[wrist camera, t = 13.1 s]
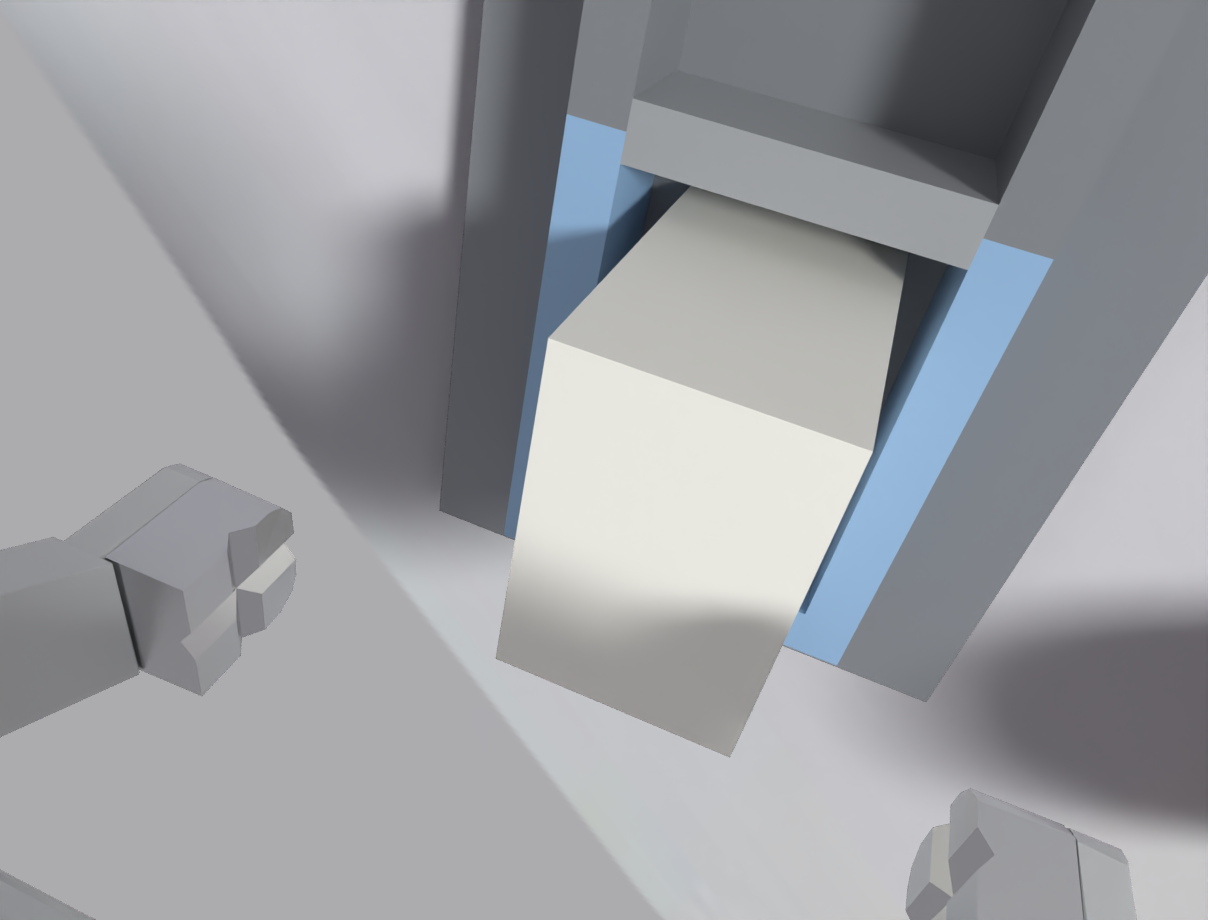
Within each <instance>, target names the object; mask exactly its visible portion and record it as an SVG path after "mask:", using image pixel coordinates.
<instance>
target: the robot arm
mask: <svg viewBox="0 0 1208 920" xmlns="http://www.w3.org/2000/svg"><path fill="white" fill-rule="evenodd" d="M293 533H294V530H293V521H292V513H291V512H289V511H287V510H285V509H283V508H281V507H279V506H277V505H274V504H272V503H270V502H267V501H265V500H263V499H261V498H258V497H256V496H254V495H252V494H249V493H247V492H245V491H242V490H240V489H238V488H236V487H234V486H231V485H229V484H227V483H225V482H222V481H220V480H218V479H216V478H213V477H210V476H208V475H206V474H203V473H201V472H198V471H196V470H194V469H192V468H189V467H187V466H184V465H182V464H176V465H172V466H168V467H165V468H163V469H161V470H160V471H159V472H157V473H156V474H155V475H153V476H152V477H151V478H149V479H148V480H146V481H145V482H144V483H142V484H141V485H140V486H138V487H137V488H135V489H134V490H133V491H131V492H130V493H129V494H127V495H126V496H125V497H123V498H122V499H121V500H119V501H118V502H116V503H115V504H114V505H112V506H111V507H110V508H108V509H107V510H106V511H104V512H103V513H101V514H100V515H99V516H97V517H96V518H95V519H93V520H92V521H91V522H89V523H88V524H86V525H85V526H84V527H82V528H81V529H80V530H78V531H77V532H75V533H74V534H73V535H71V536H70V537H69V538H67V539H66V540H64V541H62V540H59V539H57V538H54V537H51V538H47V539H43V540H39V541H35V542H31V543H27V544H23V545H19V546H15V547H11V548H7V549H3V550H0V737H2V736H4V735H6V734H8V733H11V732H12V731H15V730H17V729H19V728H22V727H24V726H26V725H28V724H30V723H32V722H35V721H37V720H39V719H41V718H44V717H46V716H48V715H50V714H52V713H55V712H57V711H59V710H61V709H64V708H66V707H68V706H70V705H72V704H75V703H77V702H79V701H81V700H83V699H86V698H88V697H90V696H92V695H95V694H97V693H99V692H101V691H103V690H105V689H108V688H110V687H112V686H114V685H117V684H119V683H121V682H123V681H125V680H127V679H130V678H132V677H134V676H136V675H138V674H139V673H140V672H139V670H142V671H144V672H146V673H149V674H151V675H153V676H156V677H158V678H160V679H163V680H165V681H167V682H170V683H172V684H174V685H177V686H179V687H182V688H184V689H186V690H189V691H191V692H194V693H196V694H198V695H201V696H203V695H204V694H205V693H206V691H208V690H209V689H210V687H211V686H212V685H213V684H214V683H215V682H216V681H217V680H218V679H219V678H220V677H221V676H222V675H223V674H224V673H225V672H226V670H228V668H229V667H230V666H231V665H232V664H233V663H234V662H235V661H236V660H237V659H238V658H239V657H240V656H241V643H242V637H245V636H247V635H251V634H253V633H256V632H259V631H262V630H265V629H266V628H267V627H268V626H269V625H270V623H271V622H272V621H273V620H274V619H275V618H276V617H277V616H278V614H279V613H280V612H281V611H282V608H283V607H284V605H285V603H286V601H287V600H288V598H289V596H290V594H291V592H292V590H293V585H294V580H295V576H296V560H295V558H294V556H293V555H292V553H291V552H290V550H289V549H288V547H287V546H286V544H285V543H284V542H285V541H286V540H287V539H288V538H289V537H290V536H291V535H292V534H293ZM906 912H907V914H908V916H909V919H910V920H1137V915H1136V909H1135V902H1134V896H1133V889H1132V883H1131V876H1130V870H1129V863H1128V860H1127V858H1126V857H1125V855H1124V853H1123V852H1122V850H1121V849H1119V848H1116V847H1114V846H1111V845H1109V844H1107V843H1104V842H1102V841H1099V840H1097V839H1094V838H1092V837H1089V836H1087V835H1085V834H1082V833H1080V832H1077V831H1075V830H1072V829H1069V828H1066V827H1065V826H1064V825H1062V824H1060V823H1057V822H1055V821H1052V820H1050V819H1047V818H1045V817H1042V816H1040V815H1037V814H1034V813H1032V812H1029V811H1027V810H1024V809H1022V808H1019V807H1017V806H1014V805H1012V804H1009V803H1007V802H1004V801H1002V800H999V799H997V798H994V797H991V796H989V795H986V794H984V793H981V792H979V791H976V790H974V789H971V788H970V789H968V790H965V791H963V792H961V793H960V794H959V796H958V797H957V798H956V799H955V800H954V802H953V803H952V804H951V807H950V824H945V825H940V826H936V827H933V828H932V829H931V831H930V832H929V833H928V835H927V836H926V837H925V839H924V840H923V842H922V843H921V845H920V847H919V850H918V852H917V855H916V857H915V860H914V862H913V865H912V868H911V873H910V878H909V883H908V888H907V899H906ZM0 920H95V919H93V918H92V917H89V916H88V915H86V914H84V913H82V912H80V911H78V910H76V909H74V908H73V907H71V906H69V905H67V904H65V903H63V902H61V901H59V900H57V899H55V898H54V897H52V896H50V895H48V894H46V893H44V892H42V891H40V890H38V889H36V888H34V887H33V886H31V885H29V884H27V883H25V882H23V881H21V880H19V879H17V878H15V877H14V876H12V875H10V874H8V873H6V872H4V871H2V870H0Z"/></svg>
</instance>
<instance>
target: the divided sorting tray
mask: <svg viewBox="0 0 1208 920" xmlns="http://www.w3.org/2000/svg"><path fill="white" fill-rule="evenodd" d="M690 186H694V187H697V188H701V189H704V190H707V191H711V192H714V193H717V194H720V195H724V196H727V197H730V198H733V199H737V200H740V201H743V202H746V203H750V204H753V205H756V206H760V207H763V208H766V209H769V210H773V211H776V212H779V213H782V214H786V215H789V216H792V217H796V218H799V219H802V220H805V221H809V222H812V223H815V224H818V225H822V226H825V227H828V228H832V229H835V230H838V231H841V232H845V233H848V234H851V235H854V236H858V237H861V238H864V239H867V240H871V241H874V242H877V243H881V244H884V245H887V246H890V247H894V248H897V249H900V250H903V251H907V252H909V253H908V259H907V265H906V270H905V276H904V281H903V287H902V293H901V298H900V304H899V309H898V315H897V320H896V326H895V332H894V337H893V343H892V348H891V354H890V360H889V365H888V371H887V376H886V382H885V387H884V393H883V399H882V404H881V410H880V415H879V421H878V427H877V432H876V438H875V443H874V449H873V453H872V455H871V457H870V459H869V461H868V463H867V466H866V468H865V470H864V472H863V474H862V476H861V478H860V481H859V483H858V485H857V487H856V489H855V491H854V493H853V495H852V498H851V500H850V502H849V504H848V506H847V508H846V510H845V513H844V515H843V517H842V519H841V521H840V523H839V525H838V528H837V530H836V532H835V534H834V536H833V538H832V540H831V543H830V545H829V547H828V549H827V551H826V553H825V555H824V558H823V560H822V562H821V564H820V566H819V568H818V570H817V572H816V575H815V577H814V579H813V581H812V583H811V585H810V587H809V590H808V592H807V594H806V596H805V598H804V600H803V602H802V605H801V607H800V609H799V611H798V613H797V615H796V617H795V620H794V622H793V624H792V626H791V628H790V630H789V632H788V634H787V637H786V639H785V641H784V643H783V645H782V646H785V647H787V648H790V649H792V650H795V651H797V652H800V653H803V654H805V655H808V656H810V657H813V658H815V659H818V660H820V661H823V662H825V663H828V664H830V665H833V666H836V667H838V668H841V669H843V670H846V671H848V672H851V673H853V674H856V675H858V676H861V677H863V678H866V679H869V680H871V681H874V682H876V683H879V684H881V685H884V686H886V687H889V688H891V689H894V690H896V691H899V692H902V693H904V694H907V695H909V696H912V697H914V698H917V699H919V700H922V701H924V702H927V700H928V699H929V697H930V696H931V694H932V693H933V691H934V690H935V688H936V686H937V685H938V683H939V682H940V680H941V679H942V677H943V676H944V674H945V673H946V671H947V670H948V668H949V667H950V665H951V664H952V662H953V661H954V659H955V658H956V656H957V655H958V653H959V651H960V650H961V648H962V647H963V645H964V644H965V642H966V641H967V639H968V638H969V636H970V635H971V633H972V632H973V630H974V629H975V627H976V626H977V624H978V623H979V621H980V620H981V618H982V616H983V615H984V613H985V612H986V610H987V609H988V607H989V606H990V604H991V603H992V601H993V600H994V598H995V597H996V595H997V594H998V592H999V591H1000V589H1001V588H1002V586H1003V585H1004V583H1005V581H1006V580H1007V578H1008V577H1009V575H1010V574H1011V572H1012V571H1013V569H1014V568H1015V566H1016V565H1017V563H1018V562H1019V560H1020V559H1021V557H1022V556H1023V554H1024V553H1025V551H1026V550H1027V548H1028V546H1029V545H1030V543H1031V542H1032V540H1033V539H1034V537H1035V536H1036V534H1037V533H1038V531H1039V530H1040V528H1041V527H1042V525H1043V524H1044V522H1045V521H1046V519H1047V518H1048V516H1049V515H1050V513H1051V511H1052V510H1053V508H1054V507H1055V505H1056V504H1057V502H1058V501H1059V499H1060V498H1061V496H1062V495H1063V493H1064V492H1065V490H1066V489H1067V487H1068V486H1069V484H1070V483H1071V481H1072V480H1073V478H1074V476H1075V475H1076V473H1077V472H1078V470H1079V469H1080V467H1081V466H1082V464H1083V463H1084V461H1085V460H1086V458H1087V457H1088V455H1089V454H1090V452H1091V451H1092V449H1093V448H1094V446H1095V445H1096V443H1097V441H1098V440H1099V438H1100V437H1101V435H1102V434H1103V432H1104V431H1105V429H1106V428H1107V426H1108V425H1109V423H1110V422H1111V420H1112V419H1113V417H1114V416H1115V414H1116V413H1117V411H1118V410H1119V408H1120V406H1121V405H1122V403H1123V402H1124V400H1125V399H1126V397H1127V396H1128V394H1129V393H1130V391H1131V390H1132V388H1133V387H1134V385H1135V384H1136V382H1137V381H1138V379H1139V378H1140V376H1141V375H1142V373H1143V371H1144V370H1145V368H1146V367H1147V365H1148V364H1149V362H1150V361H1151V359H1152V358H1153V356H1154V355H1155V353H1156V352H1157V350H1158V349H1159V347H1160V346H1161V344H1162V343H1163V341H1164V340H1165V338H1166V336H1167V335H1168V333H1169V332H1170V330H1171V329H1172V327H1173V326H1174V324H1175V323H1176V321H1177V320H1178V318H1179V317H1180V315H1181V314H1182V312H1183V311H1184V309H1185V308H1186V306H1187V305H1188V303H1189V301H1190V300H1191V298H1192V297H1193V295H1194V294H1195V292H1196V291H1197V289H1198V288H1199V286H1200V285H1201V283H1202V282H1203V280H1204V279H1205V277H1206V276H1207V274H1208V0H484V4H483V16H482V27H481V39H480V50H479V62H478V73H477V85H476V96H475V108H474V119H473V131H472V142H471V154H470V165H469V177H468V188H467V200H466V211H465V222H464V234H463V245H462V257H461V268H460V280H459V291H458V303H457V314H456V326H455V337H454V349H453V360H452V372H451V383H450V395H449V406H448V418H447V429H446V441H445V452H444V464H443V475H442V487H441V498H440V510H439V511H442V512H444V513H447V514H450V515H452V516H455V517H457V518H460V519H462V520H465V521H467V522H470V523H472V524H475V525H477V526H480V527H483V528H485V529H488V530H490V531H493V532H495V533H498V534H500V535H503V536H505V537H508V538H510V539H513V540H515V537H516V531H517V525H518V519H519V513H520V507H521V501H522V495H523V489H524V482H525V476H526V470H527V464H528V458H529V452H530V446H531V440H532V434H533V428H534V422H535V415H536V409H537V403H538V397H539V391H540V385H541V379H542V373H543V367H544V361H545V355H546V349H547V342H548V338H549V337H550V336H551V335H552V334H553V332H554V331H555V330H556V329H557V328H558V327H559V326H560V325H561V324H562V323H563V322H564V321H565V320H566V319H567V318H568V316H569V315H570V314H571V313H572V312H573V311H574V310H575V309H576V308H577V307H578V306H579V305H580V304H581V303H582V301H583V300H584V299H585V298H586V297H587V296H588V295H589V294H590V293H591V292H592V291H593V290H594V289H595V288H596V287H597V285H598V284H599V283H600V282H601V281H602V280H603V279H604V278H605V277H606V276H607V275H608V274H609V273H610V272H611V271H612V269H613V268H614V267H615V266H616V265H617V264H618V263H619V262H620V261H621V260H622V259H623V258H624V257H625V256H626V255H627V253H628V252H629V251H630V250H631V249H632V248H633V247H634V246H635V245H636V244H637V243H638V242H639V241H640V240H641V238H642V237H643V236H644V235H645V234H646V233H647V232H648V231H649V230H650V229H651V228H652V227H653V226H654V225H655V224H656V222H657V221H658V220H659V219H660V218H661V217H662V216H663V215H664V214H665V213H666V212H667V211H668V210H669V209H670V208H671V206H672V205H673V204H674V203H675V202H676V201H677V200H678V199H679V198H680V197H681V196H682V195H683V194H684V193H685V192H686V190H687V189H688V188H689V187H690Z"/></svg>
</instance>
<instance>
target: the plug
mask: <svg viewBox="0 0 1208 920" xmlns="http://www.w3.org/2000/svg"><path fill="white" fill-rule="evenodd" d="M908 253H909V252H907V251H903V250H900V249H897V248H894V247H890V246H887V245H884V244H881V243H877V242H874V241H871V240H867V239H864V238H861V237H858V236H854V235H851V234H848V233H845V232H841V231H838V230H835V229H832V228H828V227H825V226H822V225H818V224H815V223H812V222H809V221H805V220H802V219H799V218H796V217H792V216H789V215H786V214H782V213H779V212H776V211H773V210H769V209H766V208H763V207H760V206H756V205H753V204H750V203H746V202H743V201H740V200H737V199H733V198H730V197H727V196H724V195H720V194H717V193H714V192H711V191H707V190H704V189H701V188H697V187H694V186H690V187H689V188H688V189H687V190H686V192H685V193H684V194H683V195H682V196H681V197H680V198H679V199H678V200H677V201H676V202H675V203H674V204H673V205H672V206H671V208H670V209H669V210H668V211H667V212H666V213H665V214H664V215H663V216H662V217H661V218H660V219H659V220H658V221H657V222H656V224H655V225H654V226H653V227H652V228H651V229H650V230H649V231H648V232H647V233H646V234H645V235H644V236H643V237H642V238H641V240H640V241H639V242H638V243H637V244H636V245H635V246H634V247H633V248H632V249H631V250H630V251H629V252H628V253H627V255H626V256H625V257H624V258H623V259H622V260H621V261H620V262H619V263H618V264H617V265H616V266H615V267H614V268H613V269H612V271H611V272H610V273H609V274H608V275H607V276H606V277H605V278H604V279H603V280H602V281H601V282H600V283H599V284H598V285H597V287H596V288H595V289H594V290H593V291H592V292H591V293H590V294H589V295H588V296H587V297H586V298H585V299H584V300H583V301H582V303H581V304H580V305H579V306H578V307H577V308H576V309H575V310H574V311H573V312H572V313H571V314H570V315H569V316H568V318H567V319H566V320H565V321H564V322H563V323H562V324H561V325H560V326H559V327H558V328H557V329H556V330H555V331H554V332H553V334H552V335H551V336H550V337H549V338H548V342H547V349H546V355H545V361H544V367H543V373H542V379H541V385H540V391H539V397H538V403H537V409H536V415H535V422H534V428H533V434H532V440H531V446H530V452H529V458H528V464H527V470H526V476H525V482H524V489H523V495H522V501H521V507H520V513H519V519H518V525H517V531H516V537H515V543H514V549H513V556H512V562H511V568H510V574H509V580H508V586H507V592H506V598H505V604H504V610H503V616H502V622H501V629H500V635H499V641H498V647H497V653H496V659H498V660H500V661H503V662H505V663H508V664H510V665H512V666H515V667H517V668H519V669H522V670H524V671H526V672H529V673H531V674H534V675H536V676H538V677H541V678H543V679H545V680H548V681H550V682H553V683H555V684H557V685H560V686H562V687H564V688H567V689H569V690H571V691H574V692H576V693H579V694H581V695H583V696H586V697H588V698H590V699H593V700H595V701H597V702H600V703H602V704H605V705H607V706H609V707H612V708H614V709H616V710H619V711H621V712H624V713H626V714H628V715H631V716H633V717H635V718H638V719H640V720H642V721H645V722H647V723H650V724H652V725H654V726H657V727H659V728H661V729H664V730H666V731H668V732H671V733H673V734H676V735H678V736H680V737H683V738H685V739H687V740H690V741H692V742H695V743H697V744H699V745H702V746H704V747H706V748H709V749H711V750H713V751H716V752H718V753H721V754H723V755H725V756H728V757H730V756H731V754H732V752H733V750H734V748H735V746H736V744H737V741H738V739H739V737H740V735H741V733H742V731H743V729H744V726H745V724H746V722H747V720H748V718H749V716H750V714H751V711H752V709H753V707H754V705H755V703H756V701H757V699H758V696H759V694H760V692H761V690H762V688H763V686H764V684H765V682H766V679H767V677H768V675H769V673H770V671H771V669H772V667H773V664H774V662H775V660H776V658H777V656H778V654H779V652H780V649H781V647H782V645H783V643H784V641H785V639H786V637H787V634H788V632H789V630H790V628H791V626H792V624H793V622H794V620H795V617H796V615H797V613H798V611H799V609H800V607H801V605H802V602H803V600H804V598H805V596H806V594H807V592H808V590H809V587H810V585H811V583H812V581H813V579H814V577H815V575H816V572H817V570H818V568H819V566H820V564H821V562H822V560H823V558H824V555H825V553H826V551H827V549H828V547H829V545H830V543H831V540H832V538H833V536H834V534H835V532H836V530H837V528H838V525H839V523H840V521H841V519H842V517H843V515H844V513H845V510H846V508H847V506H848V504H849V502H850V500H851V498H852V495H853V493H854V491H855V489H856V487H857V485H858V483H859V481H860V478H861V476H862V474H863V472H864V470H865V468H866V466H867V463H868V461H869V459H870V457H871V455H872V453H873V449H874V443H875V438H876V432H877V427H878V421H879V415H880V410H881V404H882V399H883V393H884V387H885V382H886V376H887V371H888V365H889V360H890V354H891V348H892V343H893V337H894V332H895V326H896V320H897V315H898V309H899V304H900V298H901V293H902V287H903V281H904V276H905V270H906V265H907V259H908Z"/></svg>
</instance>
